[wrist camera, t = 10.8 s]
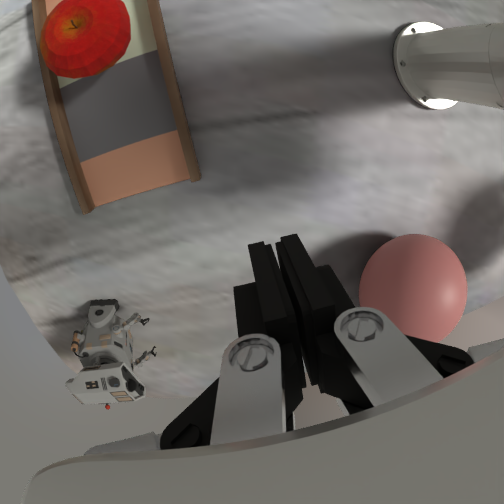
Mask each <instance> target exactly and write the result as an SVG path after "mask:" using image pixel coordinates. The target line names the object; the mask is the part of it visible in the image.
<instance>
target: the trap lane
mask: <svg viewBox="0 0 504 504" xmlns="http://www.w3.org/2000/svg"><path fill="white" fill-rule="evenodd" d="M61 1H62V0H32V11H33V21H34V29H35V37H36V43H37V50H38V56H39V62H40V67H41V72H42V77H43V82H44V87H45V92H46V96H47V100H48V105H49V109H50V113H51V117H52V120H53V124H54V128H55V131H56V135H57V139H58V142H59V145H60V149H61V152H62V155H63V158H64V162H65V165H66V168H67V171H68V174H69V177H70V180H71V183H72V185H73V188H74V191H75V194H76V197H77V199H78V202H79V205H80V207H81V210H82V213H83V215H85V214H88V213H90V212H91V211H92V210H93V209H94V208H95V207H97V206H100V205H103V204H106V203H109V202H112V201H115V200H119V199H122V198H125V197H128V196H131V195H135V194H138V193H141V192H145V191H148V190H151V189H155V188H158V187H162V186H165V185H169V184H172V183H176V182H180V181H183V180H187V179H191V182H195V181H199V180H200V179H201V173H200V169H199V166H198V162H197V158H196V154H195V150H194V146H193V143H192V139H191V135H190V131H189V127H188V123H187V119H186V115H185V111H184V107H183V103H182V99H181V95H180V91H179V87H178V83H177V78H176V74H175V70H174V66H173V62H172V57H171V53H170V49H169V44H168V40H167V36H166V31H165V27H164V22H163V18H162V13H161V9H160V4H159V0H121V1H123V2H124V3H125V6H126V9H127V11H128V14H129V16H130V24H131V41H130V43H129V45H128V48H127V50H126V52H125V55H123V56H122V57H121V58H120V59H119V60H118V61H117V62H116V63H115V64H114V65H113V66H112V67H111V68H109V69H107V70H105V71H103V72H101V73H100V74H98V75H93V76H88V77H83V78H76V79H72V78H67V77H61V76H57V75H56V74H55V73H54V72H53V71H52V70H50V69H49V68H48V67H47V66H46V63H45V61H44V58H43V56H42V53H41V49H40V38H41V31H42V28H43V25H44V23H45V20H46V18H47V16H48V15H49V14H50V12H51V11H52V10H53V9H54V8H55V7H56V5H57V4H58V3H60V2H61Z"/></svg>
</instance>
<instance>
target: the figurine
mask: <svg viewBox="0 0 504 504" xmlns="http://www.w3.org/2000/svg"><path fill="white" fill-rule="evenodd" d="M90 306H91V307H90V310H89V313H88V318H89V320H88V321H87V323H86V325H85V326H84V329H83V330H81V333H80V332H79V331H75V332H74V337H73V341H72V344H71V350H72V351H73V352H74V353H75V352H77V350H78V347H80V350H79V355H77V354H76V353H75V355H77V356H78V357H79V359H80V361H81V363H82V365H83V367H84V368H83V369H82V370H81V371H80V372H79V373H78V375H77V376H76V378H75V379H69V380H68V381H67V382H66V383H65V384H66V387H67V388H68V390H69V391H70V393H71V394H72V395H73V396H74V397H75V398H76V399H77V400H79V402H81V403H82V404H106V406H105V408H106V409H110V406H109V405H108V404H109V403H117V402H132V401H137V400H139V399H141V398H143V397H146V388H145V385H144V384H143V383H142V382H141V381H140V380H139V378H138V377H137V376H136V375H135V374H134V372H133V368H134V367H135V366H137V367H142V366H143V364H142V363H144V362H145V360H146V361H148V360H149V358H150V355H151V354H153V355H154V356H156V354H154V352H153V350H154V348H156V347H155V346H154V347H153V349H152V351H151V352H148V353H147V351H145V352H144V353H143V355H142V356H141V357H140V358H137V359H136V360H135V361H136V362H133V340H132V338H131V337H132V336H131V333H130V330H129V328H130V326H131V325H133V324H135V323H137V322H141V323H142V324H143V326H144V325H145V324H146V323H147V322H146V323H144V322H145V321H147V320H148V321H149V318H147V319H144V320H143V319H141V316H140V315H139V314H138V313H134V314H133V315H132V316H131V318H130V319H128V320H127V321H125V320H123V319H121V318H119V317H117V316H115V315H114V313H115V311H117V310H118V308H119V304H118V301H117V300H116V299H113V300H110V299H108V300H99V301H98V300H95V301H91V304H90ZM156 353H157V352H156Z"/></svg>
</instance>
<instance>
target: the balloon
mask: <svg viewBox="0 0 504 504" xmlns="http://www.w3.org/2000/svg"><path fill="white" fill-rule="evenodd" d="M466 300H467V280H466V275H465V272H464V269H463V267H462V264H461V262H460V261H459V259H458V257H457V256H456V255H455V253H454V252H453V251H452V250H451V249H450V248H449V247H448V246H447V245H445V244H444V243H443V242H441V241H439V240H437V239H435V238H433V237H430V236H426V235H421V234H409V235H403V236H399V237H397V238H394V239H392V240H390V241H388V242H387V243H385V244H384V245H382V246H381V247H380V248H379V249H378V250H377V251H376V252H375V253H374V254H373V255H372V256H371V258H370V259H369V261H368V262H367V264H366V266H365V268H364V270H363V273H362V276H361V280H360V285H359V303H360V307H370V308H374V309H377V310H379V311H381V312H382V313H384V314H385V315H386V316H387V317H388V318H389V319H390V320H391V321H392V322H393V323H394V325H395V326H396V327H397V328H398V329H399V330H400V331H401V332H402V333H403V334H405V335H408V336H412V337H416V338H420V339H424V340H428V341H432V342H436V343H438V342H439V341H441V340H442V339H444V338H445V337H446V336H447V335H448V334H449V333H450V332H451V331H452V330H453V329H454V328H455V326H456V325H457V323H458V321H459V320H460V318H461V316H462V314H463V311H464V308H465V305H466Z"/></svg>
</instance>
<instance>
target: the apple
mask: <svg viewBox="0 0 504 504" xmlns="http://www.w3.org/2000/svg"><path fill="white" fill-rule="evenodd" d="M130 41H131V24H130V16H129V14H128V11H127V9H126V6H125V3H124V2H123V1H121V0H62V1H61V2H60V3H58V4H57V5H56V7H55V8H54V9H53V10H52V11H51V12H50V14H49V15H48V16H47V18H46V20H45V23H44V25H43V28H42V31H41V38H40V49H41V53H42V56H43V58H44V61H45V63H46V66H47V67H48V68H49V69H50V70H52V71H53V72H54V73H55V74H56V75H57V76H61V77H67V78H72V79H76V78H83V77H88V76H93V75H98V74H100V73H101V72H103V71H105V70H107V69H109V68H111V67H112V66H113V65H114V64H115V63H116V62H117V61H118V60H119V59H120V58H121V57H122V56H123V55H125V52H126V50H127V48H128V45H129V43H130Z"/></svg>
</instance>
